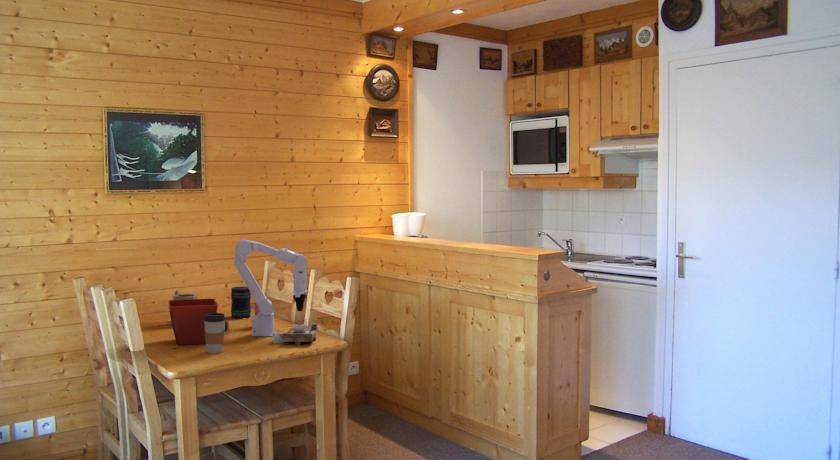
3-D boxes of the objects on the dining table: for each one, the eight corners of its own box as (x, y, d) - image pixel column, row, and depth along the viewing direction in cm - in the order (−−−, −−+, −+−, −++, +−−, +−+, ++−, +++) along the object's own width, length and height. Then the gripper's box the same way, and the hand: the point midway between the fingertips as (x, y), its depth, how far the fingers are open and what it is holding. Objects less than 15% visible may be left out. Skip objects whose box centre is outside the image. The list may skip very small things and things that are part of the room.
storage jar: (248, 319, 351) (248, 289, 351) (228, 318, 352) (228, 289, 351) (253, 315, 361) (253, 286, 361) (234, 315, 362) (234, 286, 361)
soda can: (266, 328, 330) (266, 300, 329) (252, 327, 331) (252, 299, 331) (272, 325, 337) (272, 298, 336) (258, 324, 338) (258, 297, 338)
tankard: (202, 325, 334) (202, 294, 333) (175, 327, 327) (175, 295, 326) (190, 318, 350) (190, 288, 350) (164, 320, 343) (164, 290, 342)
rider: (294, 335, 299) (294, 326, 299) (295, 333, 303) (295, 324, 303) (303, 335, 299) (303, 326, 299) (304, 333, 303) (305, 324, 303)
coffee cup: (206, 349, 284) (206, 312, 283) (227, 349, 284) (227, 312, 284) (201, 354, 275) (201, 316, 275) (223, 354, 276) (223, 316, 275)
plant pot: (168, 338, 304) (168, 299, 303) (214, 335, 311) (214, 298, 310) (169, 347, 286) (169, 306, 285) (217, 344, 293) (217, 304, 292)
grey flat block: (281, 345, 294) (282, 332, 294) (289, 334, 316) (289, 322, 316) (313, 345, 295) (313, 332, 295) (318, 334, 317) (318, 322, 317)
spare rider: (274, 343, 297) (274, 334, 297) (272, 341, 301) (272, 332, 301) (283, 343, 299) (283, 333, 298) (281, 341, 302) (281, 332, 302)
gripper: (306, 283, 310) (306, 313, 311) (311, 278, 324) (311, 308, 325) (290, 283, 310) (290, 313, 310) (295, 278, 324) (295, 308, 325)
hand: (300, 310), depth 318 cm, fingers closed
